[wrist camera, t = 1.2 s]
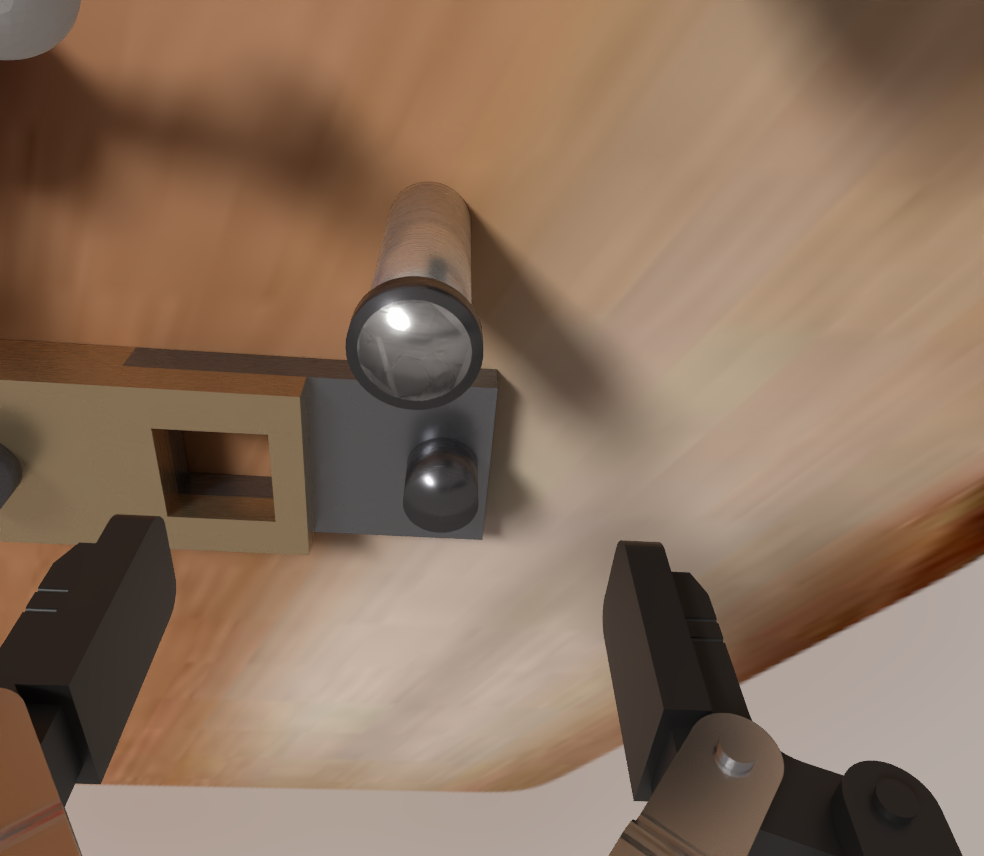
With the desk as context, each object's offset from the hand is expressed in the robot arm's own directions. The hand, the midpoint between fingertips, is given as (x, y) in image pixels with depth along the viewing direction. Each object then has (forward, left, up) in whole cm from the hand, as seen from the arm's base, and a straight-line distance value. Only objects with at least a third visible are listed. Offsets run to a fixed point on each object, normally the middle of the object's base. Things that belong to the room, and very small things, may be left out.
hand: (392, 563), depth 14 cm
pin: (0, 0, -18) cm, 18 cm away
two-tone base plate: (+8, +10, -18) cm, 22 cm away
